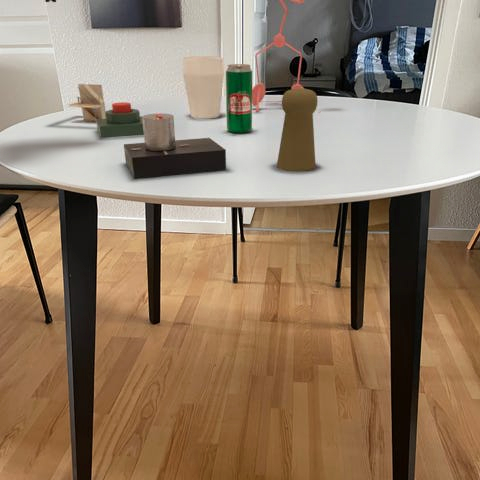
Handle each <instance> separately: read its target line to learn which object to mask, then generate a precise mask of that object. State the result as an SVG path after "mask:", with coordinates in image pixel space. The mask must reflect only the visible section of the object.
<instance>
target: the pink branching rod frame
mask: <svg viewBox="0 0 480 480" xmlns="http://www.w3.org/2000/svg"><path fill="white" fill-rule="evenodd" d="M275 1H278V0H275ZM289 1H291V2H294V3H296V4H298V5H303V3H305V2H306V0H289ZM279 2H280V4H281V6H282V7H283V9H284V13H283V16H282V20H281V24H280V28H279V33H278V34H276V35H275V36H273V42H272V43H270V44H268V46H266V47H264V48H262V49H261V50H260V51H258V52H257V53H255V55H254V58H255V69H256V78H257V83H256V84H254V86H252V106H253V107H254V108H255V112H259V107H260V106H259V105H260V103H264V101H263V99H264V98H265V96H266V86H265V84H264V83H263V82H261V83H260V74H259V65H258V55H260V54H261V53H263V52H264V51H266V50H268V49H269V48H270V47H272V46H274V47H276V48H278V49H279V48H283V47H284V45H285V46H286V47H288V48H289V49H291V50H293V51H294V52H295V53H297V54H299V55H300V57H299V65H298V73H297V82H296V83H294V84H293V85H292V86H291V89H297V88H303V89H305V88H304V87H303V85H301V84H300V77H301V68H302V61H303V54H302V52H300V51H298V50H297V49H295V47H293V46H291V45H290V44H288V43H287V42H286V38H285V36H284V35H283V34H282V32H283V27H284V24H285V20H286V18H287V14H288V11H289V10H288V6H287V5H286V4H285V2H284V1H283V0H279ZM291 89H290V90H291ZM265 103H282V100H277V101H275V100H274V101H271V100H269V101H268V100H267V101H266V100H265ZM319 113H321V111H318V113H317V114H319Z"/></svg>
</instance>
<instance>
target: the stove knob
mask: <svg viewBox="0 0 480 480" xmlns="http://www.w3.org/2000/svg"><path fill="white" fill-rule="evenodd" d="M141 116H142V121H143V131H144V135H143V141H144V143H145V149H147V150H150V151H167V150H172V149H174V148H175V147H176V144H175V140H176V132H175V131H176V130H175V118H174V117H175V115H173V114H171V113H163V112H161V113H149V114H143V115H141Z"/></svg>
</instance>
